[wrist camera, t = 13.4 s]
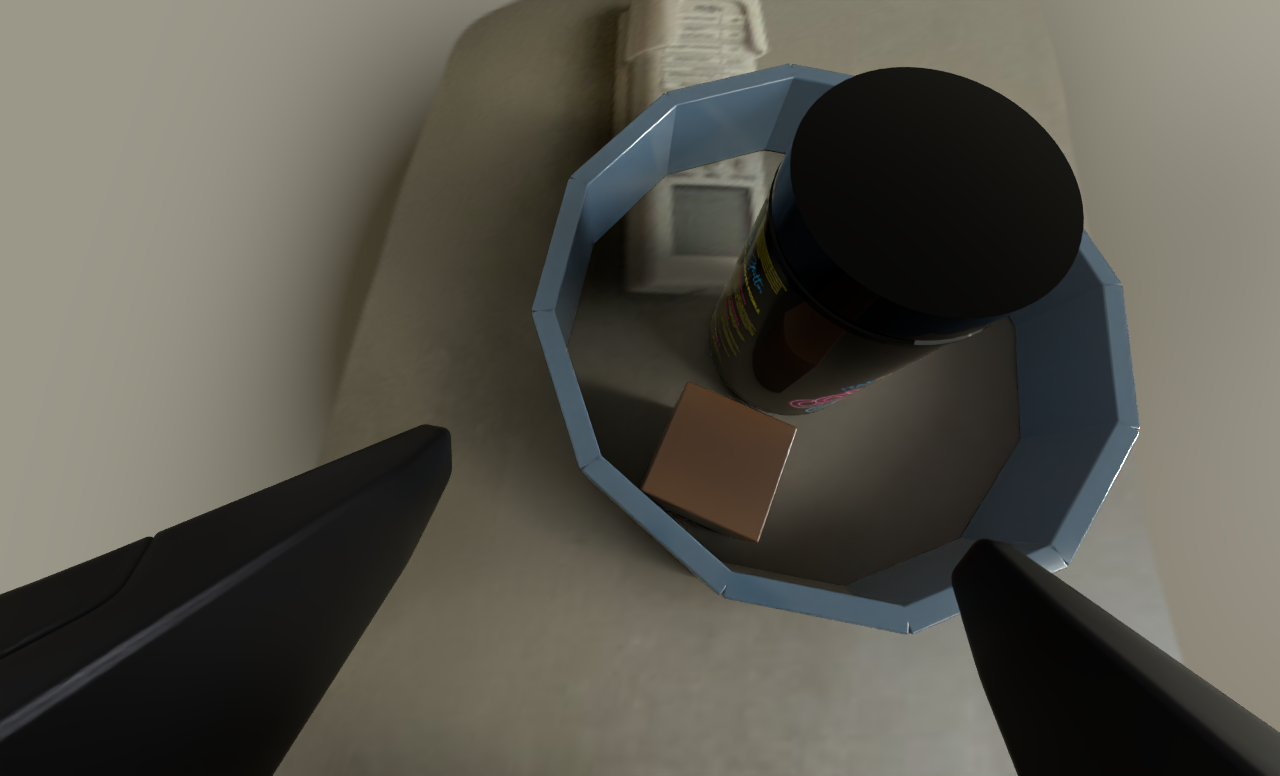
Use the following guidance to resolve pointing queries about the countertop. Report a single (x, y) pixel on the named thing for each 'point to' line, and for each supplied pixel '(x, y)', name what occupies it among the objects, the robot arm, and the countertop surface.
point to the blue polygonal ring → (1045, 349)
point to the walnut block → (718, 463)
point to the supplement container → (892, 237)
